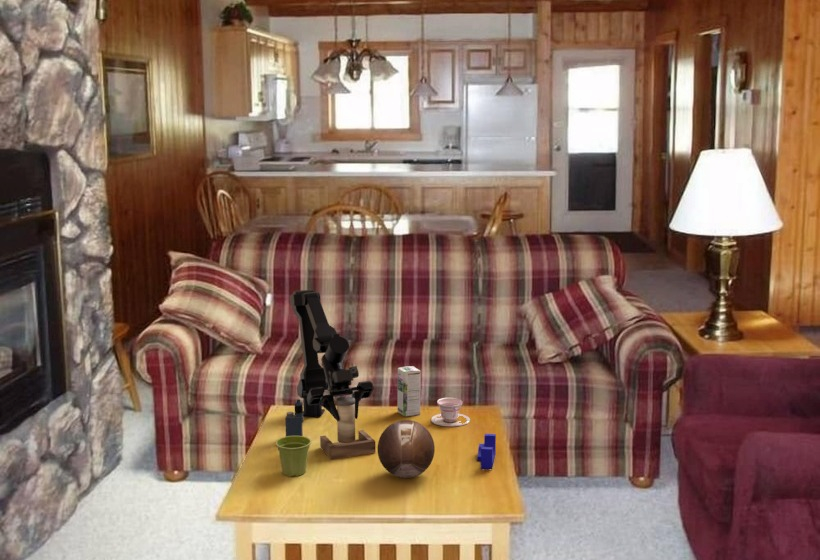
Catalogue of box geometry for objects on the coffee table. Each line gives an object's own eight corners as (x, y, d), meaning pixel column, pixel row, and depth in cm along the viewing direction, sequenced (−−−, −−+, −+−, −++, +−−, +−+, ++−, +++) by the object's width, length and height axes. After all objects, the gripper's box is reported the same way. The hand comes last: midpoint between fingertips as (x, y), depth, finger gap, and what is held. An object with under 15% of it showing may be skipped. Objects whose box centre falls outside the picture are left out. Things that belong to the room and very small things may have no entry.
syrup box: (396, 411, 317) (396, 367, 314) (413, 409, 320) (413, 365, 317) (404, 417, 312) (403, 372, 309) (421, 414, 315) (421, 369, 312)
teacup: (425, 416, 313) (425, 397, 312) (462, 413, 316) (462, 394, 315) (437, 429, 301) (437, 409, 300) (475, 425, 305) (475, 405, 304)
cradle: (320, 447, 287) (320, 436, 286) (363, 441, 291) (363, 429, 291) (331, 459, 278) (331, 447, 277) (375, 452, 282) (375, 441, 282)
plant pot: (319, 470, 270) (318, 439, 268) (296, 482, 262) (295, 450, 260) (292, 463, 275) (291, 433, 273) (269, 474, 267) (268, 443, 266)
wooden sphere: (385, 489, 256) (384, 433, 254) (372, 468, 271) (371, 415, 268) (441, 483, 260) (441, 428, 257) (425, 462, 275) (425, 410, 272)
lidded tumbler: (344, 435, 288) (343, 395, 286) (359, 438, 286) (358, 398, 283) (333, 441, 284) (332, 400, 282) (348, 444, 281) (348, 403, 279)
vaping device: (303, 440, 292) (302, 401, 290) (285, 440, 292) (284, 401, 290) (304, 437, 295) (303, 398, 292) (286, 437, 295) (285, 398, 292)
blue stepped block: (479, 453, 281) (479, 433, 280) (495, 454, 281) (495, 434, 280) (475, 469, 270) (475, 448, 269) (492, 470, 269) (492, 449, 268)
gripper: (308, 360, 280) (321, 410, 272) (371, 353, 287) (385, 401, 279) (301, 380, 289) (313, 429, 281) (362, 372, 296) (376, 420, 288)
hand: (347, 419), depth 282 cm, fingers closed on lidded tumbler, 5 cm apart
